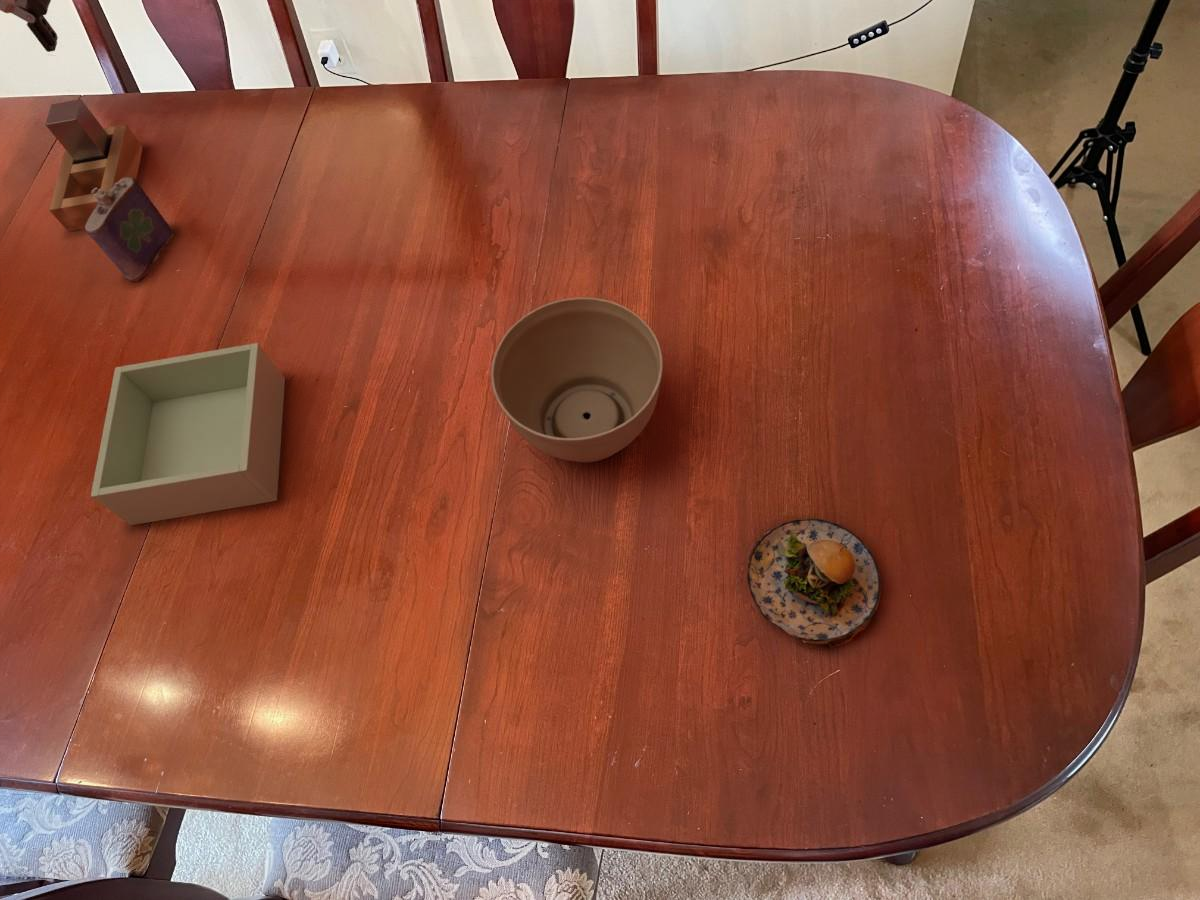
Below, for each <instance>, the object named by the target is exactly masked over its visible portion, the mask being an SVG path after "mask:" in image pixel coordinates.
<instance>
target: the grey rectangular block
mask: <svg viewBox="0 0 1200 900" xmlns="http://www.w3.org/2000/svg"><path fill="white" fill-rule="evenodd" d="M45 121H46V122H45V126H46V127H47V128H48V130H49V131H50V132H51V134H52V135H53V136H54V137H55V139H56V140H57V141H58V142H59V144H60V145H61V146H62V147H63V148H64V150H65V149H66V151H67V152H68V153H69V154H70V155H71V157H72V158H73V159H74V160H75V162H76V163H77V164H80V163H85V162H91V161H96V160H102V159H108V155H109V150H110V146H111V142H112V139H111V138H110V137H109V135H108V134H107V133H106V131H105V130H104V129H103V128H104V127H103V126H102V124H101V123H100V122H99V120H98V119H97V118H96V116H95V115H94V114H93V113H92V111H91V110H90V108H89V107H88V106H87V105H86V103H85V102H84V100H83V99H82V98H78V99H73V100H68V101H63V102H57V103H51V104H50V108H49V111H48V115H47V117H46V120H45Z"/></svg>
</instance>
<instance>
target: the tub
mask: <svg viewBox="0 0 1200 900" xmlns="http://www.w3.org/2000/svg"><path fill="white" fill-rule="evenodd" d="M285 384H286V378H285V376H284V374H282V372H281V371H280V370H279V369H278V367H277V366H276V364H275V363H274V361H272V359H271V358H270V356H269V355H268V354H267V352H266V351H265V350H264V349H263V347H262V345H260V344H259V342H253V343H248V344H243V345H242V344H241V345H236V346H232V347H225V348H218V349H213V350H207V351H201V352H196V353H191V354H184V355H180V356H179V355H178V356H172V357H167V358H162V359H154V360H151V361H145V362H138V363H133V364H127V365H121V366H116V367H115V368H114V372H113V377H112V382H111V388H110V393H109V396H108V397H109V399H108V402H107V409H106V415H105V419H104V423H103V429H102V434H101V439H100V446H99V449H98V450H99V451H98V456H97V461H96V466H95V471H94V477H93V482H92V485H91V486H92V487H91V493H90V498H92V499H93V500H95V501H96V502H97V503H99V504H100V505H102V506H103V507H104V508H106V509H108V510H109V511H110V512H112V513H113V514H114V515H116V516H118V517H119V518H120V519H122V520H123V521H125V522H126V523H127V524H128V525H130V526H135V525H141V524H147V523H152V522H158V521H165V520H171V519H176V518H182V517H189V516H194V515H200V514H207V513H211V512H218V511H225V510H230V509H236V508H242V507H247V506H253V505H260V504H266V503H271V502H276V501H277V502H278V491H279V478H280V477H279V476H280V460H281V446H282V430H283V415H284V401H285Z"/></svg>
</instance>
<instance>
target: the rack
mask: <svg viewBox="0 0 1200 900" xmlns="http://www.w3.org/2000/svg"><path fill="white" fill-rule="evenodd" d="M103 129H104V130H105V131H106V133H107V134H108V135H109V137H110V138H111V139H112V142H111V146H110V150H109V155H108V159H102V160H96V161H91V162H85V163H80V164H77V163H76V162H75V160H74V159H73V158H72V157H71V155H70V154H69V153H68V152H67V151H66V149H65V148H64V152H63V156H62V159H61V163H60V167H59V171H58V175H57V178H56V181H55V185H54V190H53V193H52V197H51V200H50V204H49V208H48V211H49V212H50V213H51V214H52V215H53V216H54V217H55V219H56V220H57V221H58V222H59V223H60V224H61V225H62V226H63V227H64V229H65V230H66V231H67V232H68V233H72V232H78V231H83V230H85V225H86V223H87V221H88V219H89V218H90V216H91V214H92V212H93V211H94V209H95V208H96V206H97V204H98V203H97V198H96V197H95V196H94V195H95V193H96V192H97V191H98V190H99V189H100V188H101V190H102V191H104V192H106V191H109V190H110V189H111V188H113V186H114V184H115V183H116V182H118V181H119V180H120V179H122V178H128V177H129V178H134V179H136V180H137V179H138V178H137V177H138V174H139V170H140V169H139V168H140V164H141V158H142V155H143V154H142V153H143V148H144V147H143V145H142V144H141V142H139V140H138V139H137V137H136V136H135V134H134V133H133V132H132V130H131V129H130V127H129V126H128V125H127V123H125V124H121V125H115V126H109V127H103ZM94 188H98V189H97V190H96V191H95V193H91V191H92V190H93V189H94ZM90 195H92V197H90Z"/></svg>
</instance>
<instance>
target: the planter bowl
mask: <svg viewBox="0 0 1200 900" xmlns="http://www.w3.org/2000/svg"><path fill="white" fill-rule="evenodd" d="M661 348H662V347H661V346H660V343H659V341H658V339H657V336H656V335H655V333H654V331H653V329H652V328H651V327H650V325H648V323H647V322H646V321H645V320H644V319H643V318H642V317H640V316H639V315H638V314H637V313H635V312H634V311H633V310H631V309H630V308H628V307H626V306H623V305H622V304H619V303H617V302H614V301H612V300H608V299H603V298H597V297H583V296H581V297H570V298H563V299H559V300H554V301H551V302H547V303H546V304H544V305H541V306H538V307H537V308H535V309H533V310H532V311H529V312H528V313H527V314H525V315H524V316H522V317H521V318H519V319H518V320H517V321H516V322H515V323H514V324H513V325H512V326H511V327H510V328H509V329H508V330H507V331H506V332H505V334H504V335H503V336H502V338H501V340H500V342H499V343H498V345H497V347H496V349H495V352H494V355H493V358H492V360H491V361H492V362H491V370H490V376H491V377H490V378H491V379H490V381H491V387H492V391H493V394H494V397H495V399H496V401H497V404H498V405H499V408H500V409H501V410H502V412H503V413H504V415H505V416H506V417H507V419H508V420H509V422H510V424H511V426H512V427H513V428H514V429H515V431H516V432H517V433H518V434H519V435H520V436H521V437H522V438H523V439H524V440H525V441H526V442H527V443H528V444H530V445H531V446H532V447H534V448H535V449H537V450H538V451H540V452H542V453H544V454H545V455H548V456H550V457H553V458H556V459H559V460H563V461H569V462H576V463H596V462H599V461H602V460H605V459H608V458H610V457H611V456H613V455H615V454H616V453H618V452H620V451H621V450H623V449H624V448H626V447H627V446H628V445H630V444H631V443H632V442H633V441H634V440H635V439H636V438H637V437H638V436H639V435H640V434H641V433H642V431H643V430H644V429H645V427H646V426H647V424H648V422H650V419H651V417H652V415H653V413H654V411H655V408H656V405H657V402H658V398H659V394H660V388H661V383H662V379H663V371H664V370H663V369H664V363H663V362H664V360H663V354H662V353H663V352H662V349H661ZM585 414H589V418H585V416H584V415H585Z"/></svg>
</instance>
